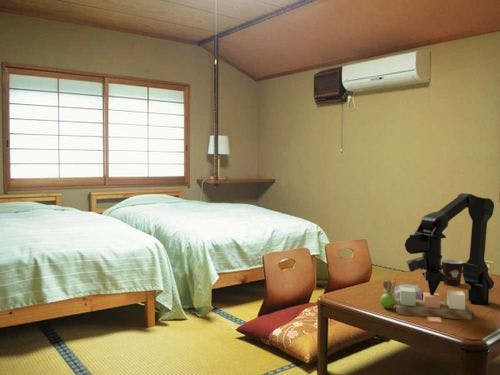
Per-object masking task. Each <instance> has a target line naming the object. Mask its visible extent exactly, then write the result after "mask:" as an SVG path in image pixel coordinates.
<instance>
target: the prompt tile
mask: <svg viewBox="0 0 500 375" xmlns="http://www.w3.org/2000/svg"><path fill="white" fill-rule="evenodd" d="M427 321H428V322H429V323H438V324H439V323H440V324H441V323H443V321H442V317H430V316H427Z"/></svg>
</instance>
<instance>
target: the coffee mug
mask: <svg viewBox="0 0 500 375" xmlns="http://www.w3.org/2000/svg"><path fill="white" fill-rule="evenodd" d="M463 263H464V261H462V260H459V259H453V258H452V259H451V258H446V259H441V267H442V270H441V271H442V272H443V273H444V275H445V281H444V282H443V284H444V285H446V286H449V287H450V286H451V287H459V286H461V281H462V276H463V273H462V270H463Z"/></svg>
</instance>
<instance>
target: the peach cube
mask: <svg viewBox="0 0 500 375" xmlns="http://www.w3.org/2000/svg"><path fill="white" fill-rule="evenodd" d="M422 295H423V296H422V300H423V306H424V307H433V308H440V301H441V296H440V294H439V292H435V293H434V295H430V292H427V291H425V292H424V291H423V292H422Z"/></svg>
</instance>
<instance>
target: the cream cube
mask: <svg viewBox="0 0 500 375" xmlns="http://www.w3.org/2000/svg"><path fill="white" fill-rule="evenodd" d="M446 291H447V292H446V294H447V295H446V296H447V297H446V302H447V305H448V307H449V309H462V310H465V303H466V294H465V292H464V291H463V290H449V289H448V290H446Z"/></svg>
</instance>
